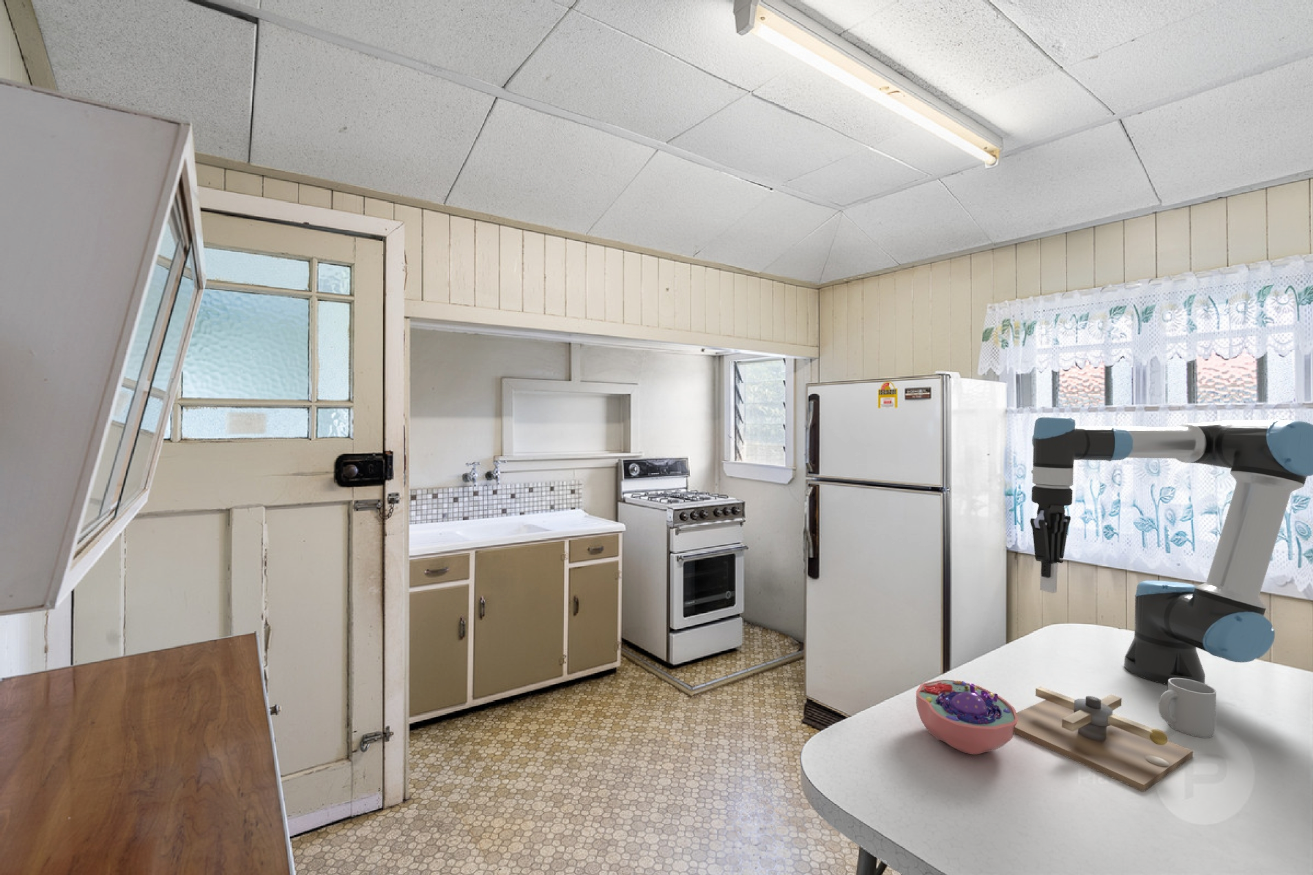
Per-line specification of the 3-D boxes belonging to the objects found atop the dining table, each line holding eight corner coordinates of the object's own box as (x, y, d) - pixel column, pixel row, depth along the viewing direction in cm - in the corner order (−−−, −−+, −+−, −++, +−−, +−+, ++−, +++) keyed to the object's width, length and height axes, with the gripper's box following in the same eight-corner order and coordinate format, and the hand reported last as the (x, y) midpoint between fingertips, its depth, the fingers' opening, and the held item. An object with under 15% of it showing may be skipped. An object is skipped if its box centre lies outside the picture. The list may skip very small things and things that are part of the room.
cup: (1224, 738, 116) (1226, 694, 115) (1175, 738, 115) (1177, 693, 115) (1190, 719, 123) (1192, 677, 123) (1144, 719, 123) (1145, 677, 122)
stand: (1052, 701, 130) (1053, 683, 130) (1192, 756, 109) (1193, 734, 109) (999, 725, 119) (999, 705, 119) (1143, 791, 98) (1144, 767, 98)
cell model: (1000, 725, 119) (1002, 670, 119) (1027, 782, 100) (1029, 717, 100) (910, 710, 125) (912, 658, 125) (920, 762, 106) (922, 700, 106)
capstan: (1011, 708, 117) (1012, 689, 117) (1061, 686, 128) (1062, 668, 127) (1142, 763, 99) (1143, 741, 99) (1188, 732, 109) (1189, 712, 109)
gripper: (1048, 483, 137) (1045, 583, 137) (1018, 485, 130) (1014, 590, 131) (1085, 486, 130) (1081, 591, 131) (1055, 489, 123) (1051, 599, 124)
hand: (1048, 590), depth 131 cm, fingers closed
